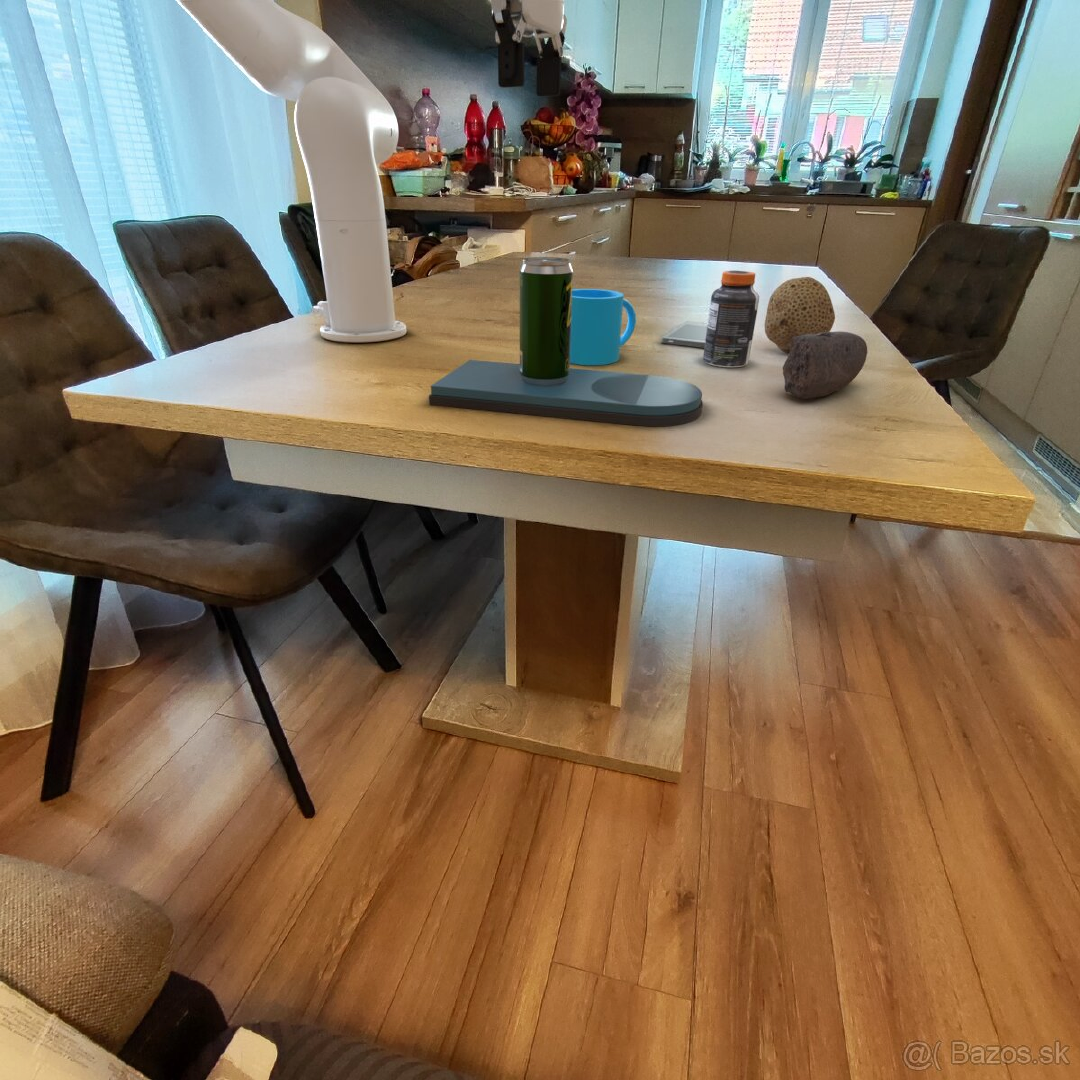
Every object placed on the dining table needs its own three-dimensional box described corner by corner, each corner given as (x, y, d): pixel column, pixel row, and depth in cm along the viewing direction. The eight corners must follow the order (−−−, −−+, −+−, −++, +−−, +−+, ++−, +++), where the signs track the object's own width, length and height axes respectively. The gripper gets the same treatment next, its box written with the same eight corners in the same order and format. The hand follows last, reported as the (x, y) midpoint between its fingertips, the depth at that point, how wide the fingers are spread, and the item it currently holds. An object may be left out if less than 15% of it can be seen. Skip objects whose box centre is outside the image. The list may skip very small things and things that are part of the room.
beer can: (525, 387, 66) (525, 263, 60) (515, 374, 71) (514, 256, 65) (574, 385, 67) (580, 262, 61) (561, 372, 72) (565, 256, 66)
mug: (584, 368, 81) (587, 300, 77) (546, 355, 87) (547, 291, 83) (652, 356, 87) (658, 293, 83) (612, 344, 93) (617, 285, 89)
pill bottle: (756, 363, 85) (772, 271, 79) (734, 371, 81) (750, 275, 76) (716, 355, 88) (729, 267, 83) (693, 362, 85) (706, 270, 79)
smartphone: (716, 349, 91) (716, 344, 91) (660, 342, 94) (661, 337, 94) (736, 330, 103) (737, 325, 102) (686, 325, 106) (687, 320, 105)
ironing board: (429, 404, 67) (427, 385, 66) (469, 375, 77) (468, 358, 76) (698, 432, 61) (701, 411, 60) (703, 396, 71) (706, 378, 70)
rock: (836, 377, 79) (850, 319, 76) (877, 387, 76) (894, 326, 72) (763, 397, 71) (775, 333, 68) (804, 409, 68) (820, 343, 64)
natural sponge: (833, 351, 91) (851, 277, 86) (814, 363, 85) (833, 284, 80) (771, 342, 96) (784, 271, 91) (749, 353, 90) (762, 277, 85)
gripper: (537, -69, 78) (535, 99, 86) (459, -122, 65) (466, 84, 73) (593, -78, 75) (586, 98, 84) (524, -135, 62) (524, 81, 70)
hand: (530, 91), depth 78 cm, fingers open, 9 cm apart
